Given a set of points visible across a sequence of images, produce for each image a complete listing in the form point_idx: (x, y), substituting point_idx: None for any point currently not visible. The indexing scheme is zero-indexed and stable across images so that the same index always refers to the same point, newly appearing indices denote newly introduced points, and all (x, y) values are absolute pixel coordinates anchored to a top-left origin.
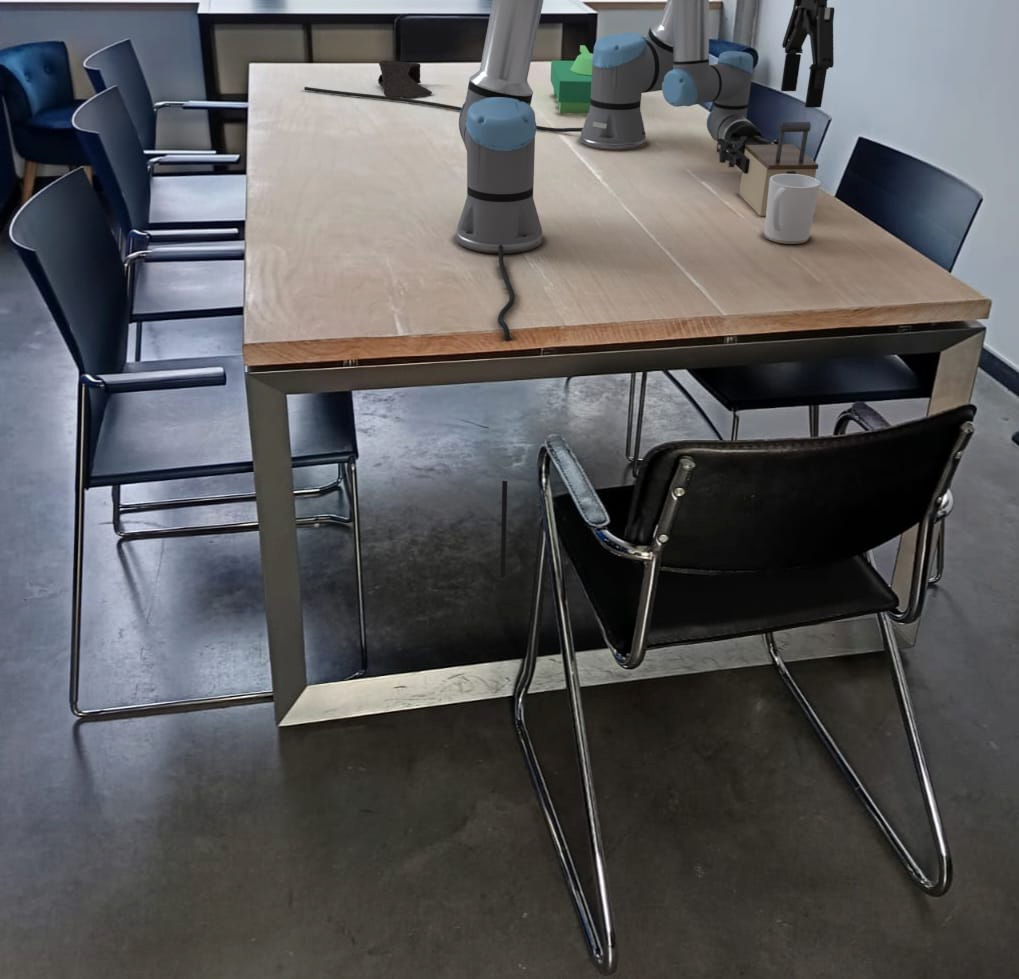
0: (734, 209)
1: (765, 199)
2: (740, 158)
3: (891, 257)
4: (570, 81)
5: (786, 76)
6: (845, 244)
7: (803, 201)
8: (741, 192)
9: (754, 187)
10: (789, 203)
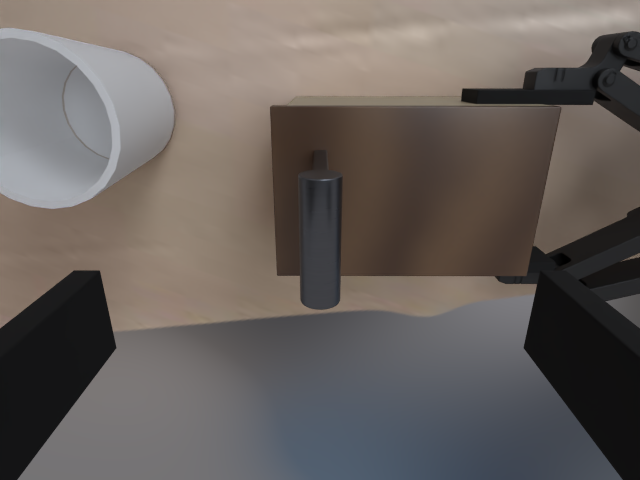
0: (359, 40)
1: None
2: (534, 88)
3: (28, 292)
4: None
5: (591, 337)
6: (96, 232)
7: None
8: None
9: (376, 99)
10: None
